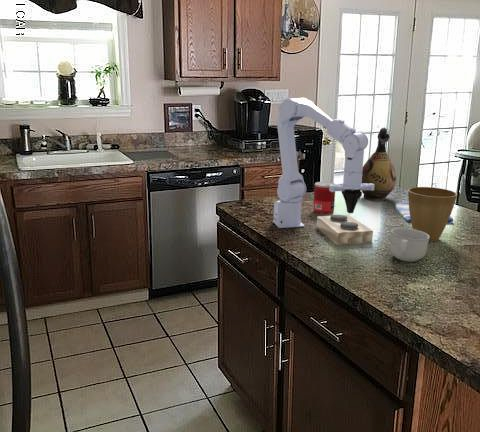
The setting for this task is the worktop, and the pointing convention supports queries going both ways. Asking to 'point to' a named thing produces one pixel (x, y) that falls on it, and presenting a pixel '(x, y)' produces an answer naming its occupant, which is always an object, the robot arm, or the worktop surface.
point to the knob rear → (338, 218)
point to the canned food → (323, 198)
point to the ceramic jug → (379, 171)
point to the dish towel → (404, 211)
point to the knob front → (349, 225)
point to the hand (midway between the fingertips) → (350, 212)
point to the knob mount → (344, 231)
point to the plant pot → (430, 209)
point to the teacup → (408, 244)
